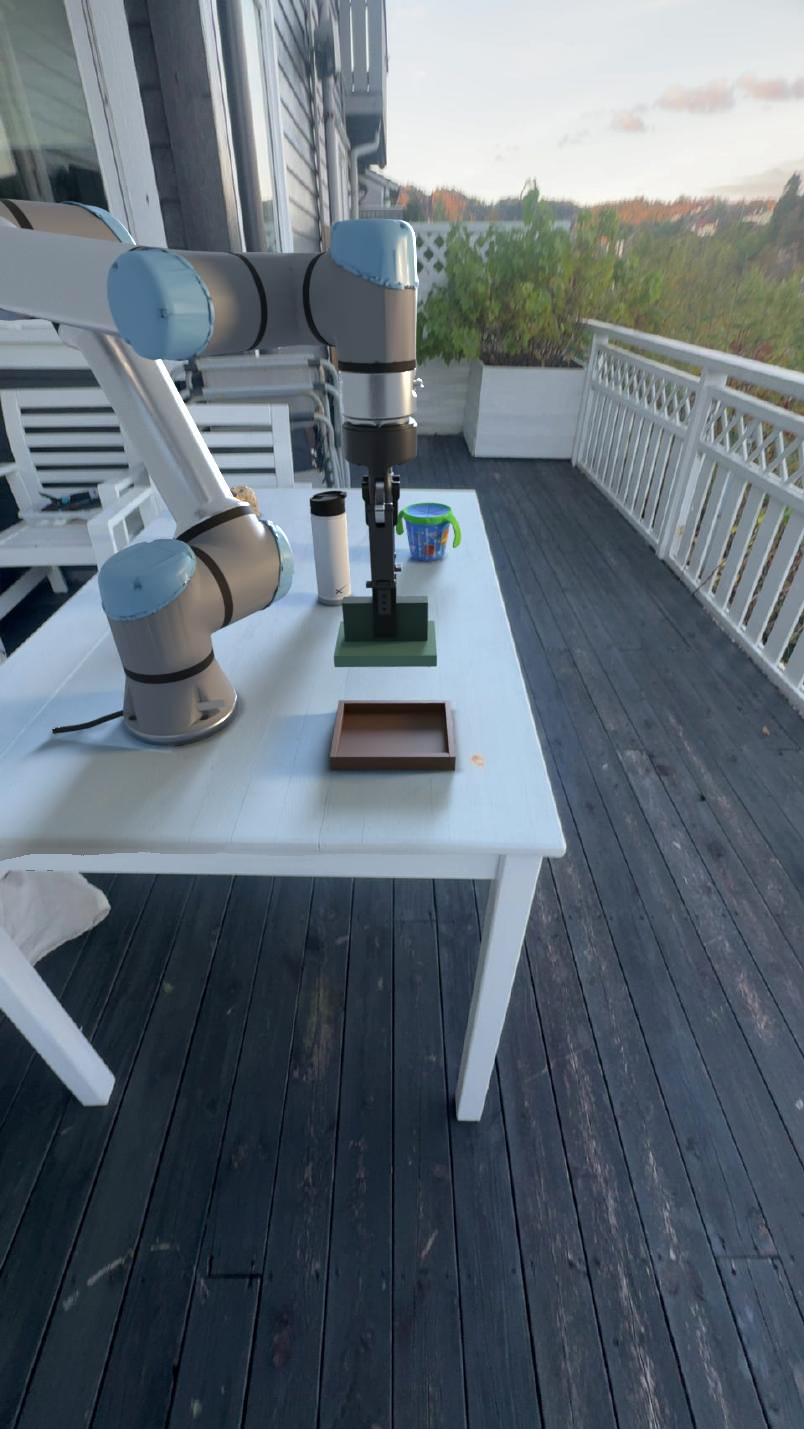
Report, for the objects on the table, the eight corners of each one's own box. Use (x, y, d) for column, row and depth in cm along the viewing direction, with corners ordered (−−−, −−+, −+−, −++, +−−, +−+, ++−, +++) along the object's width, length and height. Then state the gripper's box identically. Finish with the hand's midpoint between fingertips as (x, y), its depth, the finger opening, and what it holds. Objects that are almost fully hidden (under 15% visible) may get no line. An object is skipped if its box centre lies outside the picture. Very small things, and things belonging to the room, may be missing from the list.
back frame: (330, 770, 78) (329, 757, 77) (339, 712, 89) (338, 700, 87) (455, 770, 78) (455, 756, 77) (449, 712, 88) (450, 699, 87)
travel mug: (348, 607, 116) (340, 498, 105) (314, 604, 117) (303, 496, 106) (356, 593, 121) (350, 488, 110) (324, 591, 122) (314, 486, 111)
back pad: (334, 667, 73) (330, 617, 70) (341, 631, 81) (337, 584, 77) (436, 666, 73) (437, 616, 69) (434, 630, 80) (435, 583, 77)
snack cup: (384, 554, 138) (383, 507, 132) (416, 541, 145) (416, 496, 139) (439, 572, 130) (440, 523, 124) (470, 557, 136) (472, 510, 130)
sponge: (261, 533, 162) (272, 495, 161) (236, 520, 153) (247, 480, 152) (235, 527, 166) (246, 490, 165) (209, 514, 157) (220, 475, 156)
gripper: (418, 433, 56) (417, 661, 69) (416, 404, 68) (416, 603, 82) (334, 434, 56) (350, 662, 69) (347, 405, 68) (358, 604, 82)
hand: (385, 630), depth 75 cm, fingers closed on back pad, 2 cm apart
